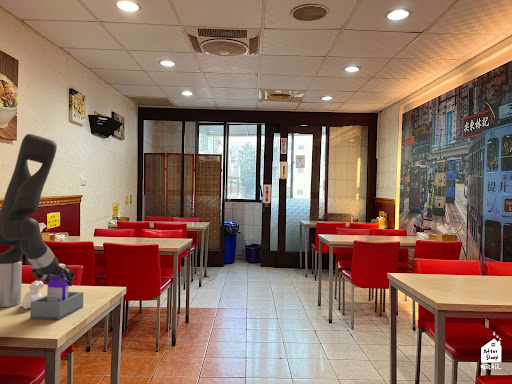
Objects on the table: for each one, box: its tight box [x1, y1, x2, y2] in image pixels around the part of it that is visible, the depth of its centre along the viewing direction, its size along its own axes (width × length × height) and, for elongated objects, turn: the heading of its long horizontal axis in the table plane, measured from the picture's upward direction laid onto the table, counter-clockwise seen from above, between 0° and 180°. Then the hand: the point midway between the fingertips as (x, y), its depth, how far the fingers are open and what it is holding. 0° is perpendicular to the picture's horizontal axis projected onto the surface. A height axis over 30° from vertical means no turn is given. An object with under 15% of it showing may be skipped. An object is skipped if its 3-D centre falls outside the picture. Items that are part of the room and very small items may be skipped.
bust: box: [21, 280, 45, 310], centre depth 151 cm, size 12×8×11 cm
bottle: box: [46, 263, 70, 302], centre depth 144 cm, size 7×6×17 cm
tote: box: [29, 291, 84, 321], centre depth 144 cm, size 11×16×6 cm
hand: (60, 283), depth 145 cm, fingers open, 8 cm apart
